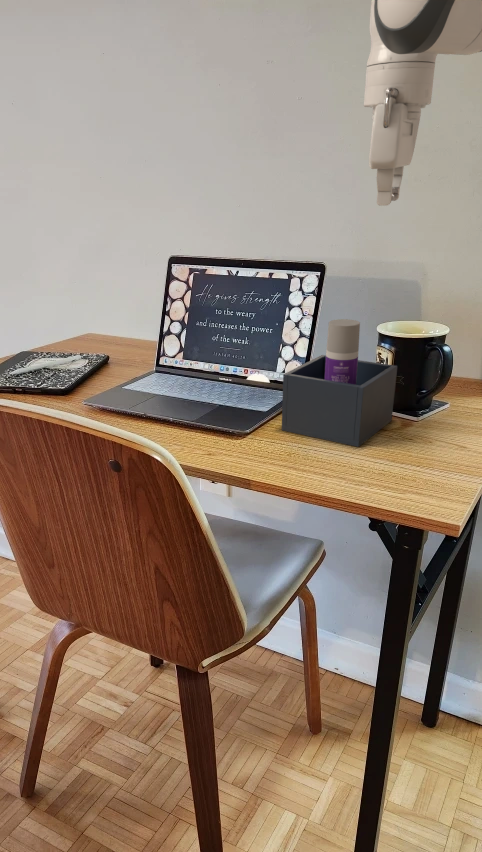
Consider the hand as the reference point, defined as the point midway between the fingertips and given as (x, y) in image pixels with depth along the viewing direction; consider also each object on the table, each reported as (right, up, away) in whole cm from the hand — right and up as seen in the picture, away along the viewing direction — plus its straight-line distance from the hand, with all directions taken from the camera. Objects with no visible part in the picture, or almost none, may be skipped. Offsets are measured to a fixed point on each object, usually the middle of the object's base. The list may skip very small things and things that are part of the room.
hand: (388, 202), depth 99 cm
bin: (-6, -31, +7) cm, 33 cm away
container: (-6, -31, +7) cm, 32 cm away
